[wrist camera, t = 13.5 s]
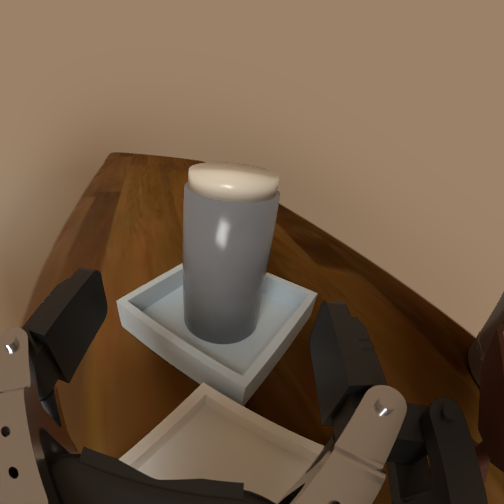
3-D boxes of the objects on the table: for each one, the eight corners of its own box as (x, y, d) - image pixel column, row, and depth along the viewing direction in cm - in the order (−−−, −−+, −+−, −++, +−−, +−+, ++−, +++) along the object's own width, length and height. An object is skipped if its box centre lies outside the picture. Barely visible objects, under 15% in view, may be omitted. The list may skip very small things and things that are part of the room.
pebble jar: (270, 314, 22) (297, 176, 17) (230, 356, 18) (249, 191, 12) (213, 286, 24) (224, 158, 19) (168, 319, 20) (165, 169, 15)
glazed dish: (310, 316, 23) (317, 293, 22) (240, 409, 15) (245, 388, 14) (208, 270, 28) (210, 248, 27) (121, 325, 19) (116, 300, 18)
